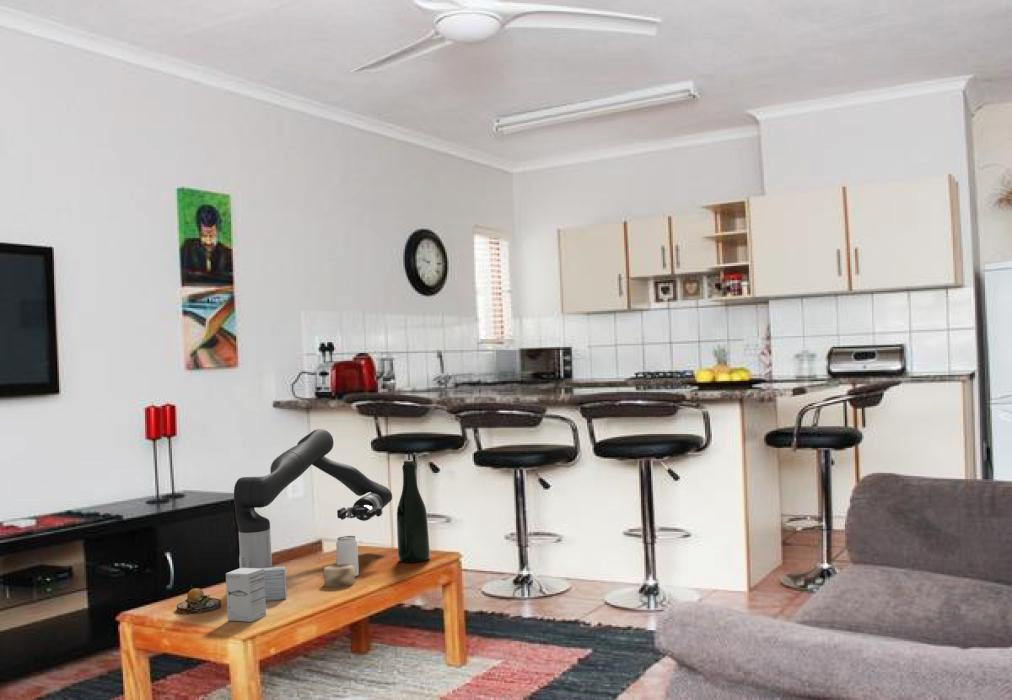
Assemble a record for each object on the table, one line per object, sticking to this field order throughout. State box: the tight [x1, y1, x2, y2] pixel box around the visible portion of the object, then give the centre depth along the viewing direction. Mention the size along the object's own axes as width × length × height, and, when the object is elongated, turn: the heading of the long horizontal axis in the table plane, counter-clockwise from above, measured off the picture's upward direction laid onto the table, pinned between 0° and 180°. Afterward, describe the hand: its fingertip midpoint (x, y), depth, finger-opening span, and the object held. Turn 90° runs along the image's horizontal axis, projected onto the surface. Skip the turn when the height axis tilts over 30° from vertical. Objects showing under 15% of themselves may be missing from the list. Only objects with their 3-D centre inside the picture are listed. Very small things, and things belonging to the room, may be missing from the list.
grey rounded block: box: [323, 564, 356, 588], centre depth 288 cm, size 9×9×5 cm
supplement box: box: [225, 567, 267, 623], centre depth 253 cm, size 7×7×13 cm
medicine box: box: [261, 566, 288, 602], centre depth 273 cm, size 8×4×9 cm, turn 100°
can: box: [335, 535, 360, 578], centre depth 298 cm, size 6×6×12 cm
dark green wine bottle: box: [396, 459, 431, 563], centre depth 318 cm, size 10×10×33 cm
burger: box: [176, 584, 222, 615], centre depth 267 cm, size 12×12×8 cm
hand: (354, 515), depth 309 cm, fingers open, 8 cm apart
